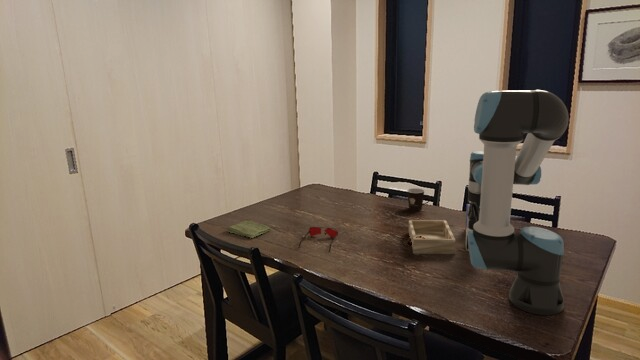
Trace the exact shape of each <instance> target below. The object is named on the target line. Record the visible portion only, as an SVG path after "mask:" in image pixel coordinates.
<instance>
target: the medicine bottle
mask: <svg viewBox="0 0 640 360" xmlns="http://www.w3.org/2000/svg"><path fill="white" fill-rule="evenodd" d="M475 223H476V219H471V220H469V223H468V228H467V229H466V230H465V250H466V251H467V252H469V247H468V231H470V230H472V231H473V225H474V224H475Z"/></svg>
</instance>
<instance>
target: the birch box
mask: <svg viewBox="0 0 640 360" xmlns="http://www.w3.org/2000/svg"><path fill="white" fill-rule="evenodd" d="M408 236H410V237H411V241H410V243H411V242H412V245H411V249H412V254H413V255H414V254H415V255H417V254H419V255H421V254H422V255H426V254H427V255H456V238H455V236H454V234H453V232H452V230H451V227H450V226H449V223H448V222H447V220H446V219H408ZM416 236H422V237H424V238H425V239H422V238H416ZM410 237H409V238H410Z"/></svg>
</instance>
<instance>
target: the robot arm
mask: <svg viewBox="0 0 640 360" xmlns="http://www.w3.org/2000/svg"><path fill="white" fill-rule="evenodd" d="M568 111H569V110H568V108H567V106H566V104H565V103H564V101H562V99H561V98H560V97H558V96H557V95H555V94H554V93H553V92H550V91H547V90H541V89H534V90H493V91H486V92H484V93H482V95H481V96H480V97H479V99H478V103H477V106H476V110H475V115H474V120H473V121H474V125H473V130H474V133H476V134H477V135H478V139H479V141H480V142H481V143H482V144H483V145H484V146H483V151H482V150H477V151H472V152H471V153H470V157H469V158H470V159H469V177H468V186H467V187H468V191H467V200H468V202H469V204H470V206H469V211H468V217H469V220H471V219H476V223H475V224H474V225H473V231H472V230H470V231H468V247H469V251H468V253H469V260H470V264H471V266H472V267H473V268H475V269H480V270H486V271H488V270H489V271H505V272H517V274H516V277H515V279H514V281H513V283H512V285H511V287H510V288H509V295H508V300H509V301H510V303H511V304H512V305H513V306H515V308H516V307H517V308H518V309H519V310H522V311H524V312H527V313H530V314H535V315H539V316H554V315H558V314H559V313H562V311H563V310H564V308H565V307H564V306H565V299H564V294H563V291H562V290H563V289H562V287H561V284H560V283H561V275H562V265H563V258H564V254H565V250H564V249H565V241H564V240H563V238H562V236H560V235H559V234H558V233H556V232H555V231H552V230H549V229H546V228H543V227H539V226H524V227H522V228H521V229H520V232H515V228H514V226H513V225H512V224H511V222H510V221H511V213H512V212H511V211H512V201H513V192H514V191H513V190H514V189H513V188H514V185H519V186H520V185H522V186H529V185H538V184H539V183H540V182H541V178H542V168H541V165H542V162H543V161H544V160H545V158H546V156H547V154H548V152H549V150H551V147H552V146H553V144H554V142H555V141H556V140H558V139H561V137H562V136H563V135H564V133H565V131H566V130H567V129H568V125H569V119H570V117H569V112H568ZM525 134H526V137H525V139H524V136H525ZM521 143H522V145H521V147H520V150H519V152H518V154H517V147H518V145H519V144H521Z"/></svg>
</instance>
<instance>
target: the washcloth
mask: <svg viewBox="0 0 640 360" xmlns="http://www.w3.org/2000/svg"><path fill="white" fill-rule="evenodd" d="M269 231H271V227H270V226H268V225H266V224H262V223H258V222H257V223H256V222H254V221H251V220H250V221H249V220H243V221H241V222H239V223H237V224H233V225H231V226H228V227H227V232H228V233H229V232H230V233H229V234H232V233H235V234H234V235H236V234H238V235H237V236H239V235H241V237H244V236H246V237H245V238H248V237H250V238H249V239H251V238H253V239H255V238H257V237H259V236H261V234H262V235H263V234H265V233H267V232H269ZM256 236H257V237H256ZM254 237H255V238H254Z"/></svg>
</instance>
